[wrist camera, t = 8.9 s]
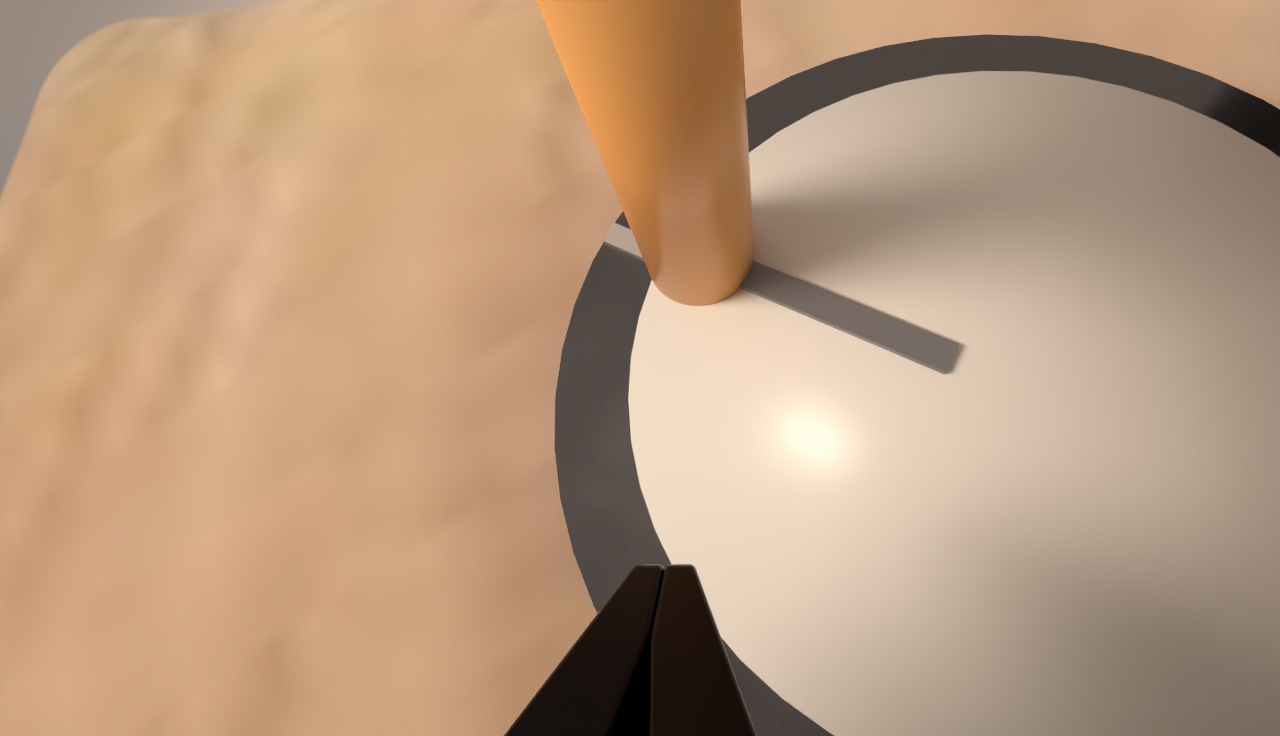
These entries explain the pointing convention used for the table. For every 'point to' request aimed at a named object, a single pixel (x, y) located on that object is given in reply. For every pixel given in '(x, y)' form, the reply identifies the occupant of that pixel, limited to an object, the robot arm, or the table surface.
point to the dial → (953, 385)
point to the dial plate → (619, 280)
